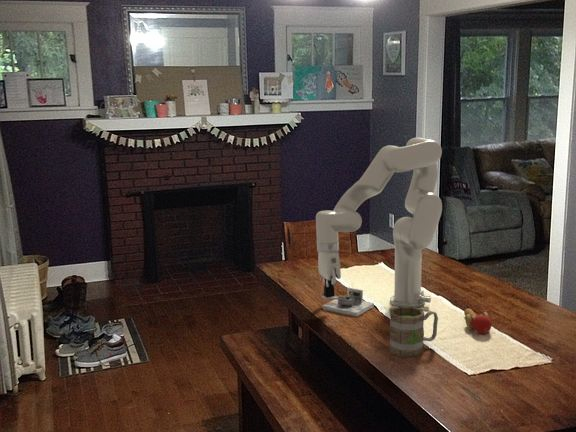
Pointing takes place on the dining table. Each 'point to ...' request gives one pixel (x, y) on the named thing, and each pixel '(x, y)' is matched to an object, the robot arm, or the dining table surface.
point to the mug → (409, 330)
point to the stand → (351, 310)
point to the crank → (340, 298)
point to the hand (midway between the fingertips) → (329, 296)
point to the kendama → (477, 321)
